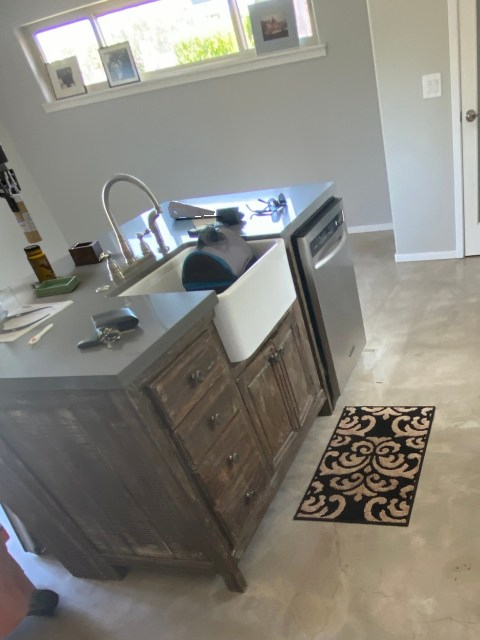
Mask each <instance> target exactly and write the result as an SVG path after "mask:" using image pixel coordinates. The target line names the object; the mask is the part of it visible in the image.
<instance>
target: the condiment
mask: <svg viewBox="0 0 480 640" xmlns="http://www.w3.org/2000/svg"><path fill="white" fill-rule="evenodd" d="M23 251H24V253H25V255H26V259H27V261H28V264H29V265H30V267H31V269H32V271H33V272H34V275H35V276H36V278H37V281H35V282H32V284H33V286H34V288H35V289H36V288H37V287H38V286H39V285H40V284H42V283H43V282H44V281H48V280H54V279H59V277H58V276H57V275H56V273H55V270H54V269H53V266H52V264H51V262H50V261H49V259H48V257H47V255H46V253H45V252H43V249H42V247H41V246H40V245H39V244H31V245H28V246H25V247H24V248H23Z"/></svg>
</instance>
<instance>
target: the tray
mask: <svg viewBox="0 0 480 640" xmlns="http://www.w3.org/2000/svg"><path fill="white" fill-rule="evenodd" d="M79 283H80V281H79V279H78V277H77V275H71V276H66V277H61V278H58V279H54V280H48V281H44V282H43V283H42V284H40V285H39V286H38V287H37V288H36V287H35V289H34V290H33V292H34V294H35V295H36V297H37V298H44V297H48V296H55V295H60V294H66V293H67V294H68V293H71V292H72V291H74V289H75V288H76V287H77V286H78V285H79Z"/></svg>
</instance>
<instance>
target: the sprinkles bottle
mask: <svg viewBox="0 0 480 640" xmlns="http://www.w3.org/2000/svg"><path fill="white" fill-rule="evenodd" d="M12 195H13V198H14V199H15V201H16V203H17V205H18V207H19V209H20V211H19V212H15V213H13V216H14V217H15V219H16V221H17V223H18V225H19V228H20V229H21V231H22V233H23V234H24V236H25V239H26V240H27V243H28V244H38V243H40V242H42V241H43V237H42V236H41V234H40V232H39V230H38V227H37V226H36V223H35V222H34V219H33V217H32V216H31V213H30V211H29V210H28V207H27V206H26V204H25V201H24V198H23V197H22V194H21V193H20V194H12Z"/></svg>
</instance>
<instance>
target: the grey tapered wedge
mask: <svg viewBox="0 0 480 640" xmlns="http://www.w3.org/2000/svg"><path fill="white" fill-rule="evenodd" d="M167 209H168V213H169V214H168V215H169V218H171V219H172V220H191V219H208V218H210V219H211V218H216V217H215V216H204V215H214V213H215V211H214V210H212V209H209V208H203V207H200V206H197V205H193V204H189V203H184V202H180V201H176V200H173V199H172V200H170V201H169V203H168V205H167ZM195 216H201V217H195ZM179 217H186V218H179Z"/></svg>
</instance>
